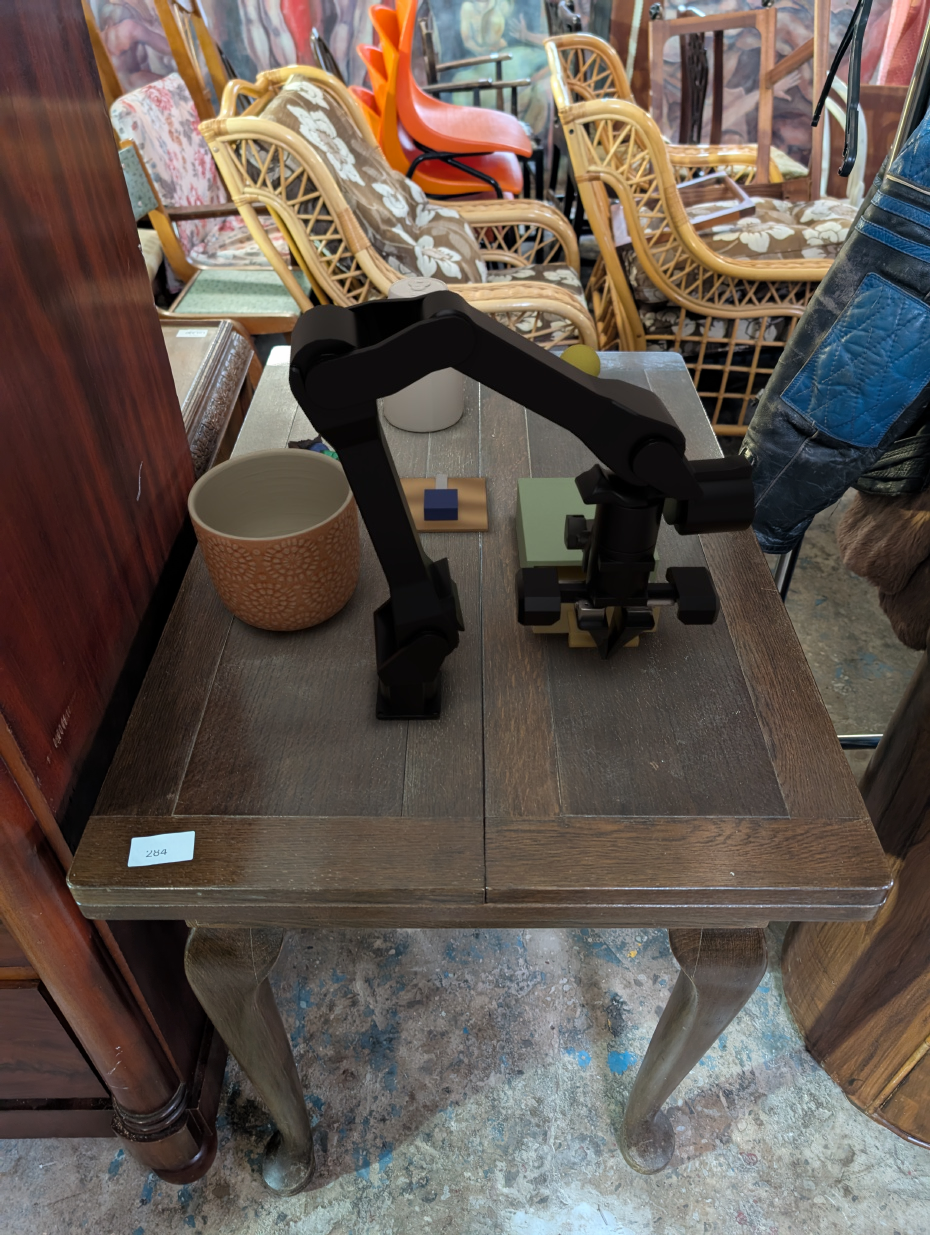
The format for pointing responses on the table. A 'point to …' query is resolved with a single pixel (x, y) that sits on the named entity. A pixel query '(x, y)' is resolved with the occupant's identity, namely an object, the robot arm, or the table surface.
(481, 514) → the mat
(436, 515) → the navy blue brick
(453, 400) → the can
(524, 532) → the cabinet
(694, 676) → the table surface
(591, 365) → the light bulb
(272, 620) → the planter
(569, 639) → the drawer
